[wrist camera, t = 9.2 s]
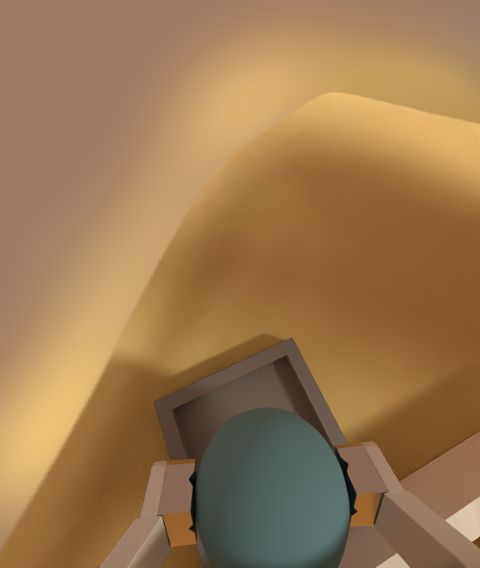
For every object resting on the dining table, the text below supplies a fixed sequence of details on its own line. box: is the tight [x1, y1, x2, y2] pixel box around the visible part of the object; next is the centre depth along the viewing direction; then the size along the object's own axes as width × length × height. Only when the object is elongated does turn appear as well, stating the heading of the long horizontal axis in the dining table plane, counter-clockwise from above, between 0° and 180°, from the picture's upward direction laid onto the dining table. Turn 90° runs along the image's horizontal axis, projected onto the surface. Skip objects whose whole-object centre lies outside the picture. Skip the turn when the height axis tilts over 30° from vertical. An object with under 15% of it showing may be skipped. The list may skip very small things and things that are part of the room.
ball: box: [195, 407, 350, 568], centre depth 9 cm, size 5×5×5 cm
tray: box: [154, 338, 348, 568], centre depth 14 cm, size 9×9×1 cm
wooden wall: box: [338, 431, 480, 568], centre depth 12 cm, size 24×1×4 cm, turn 114°
